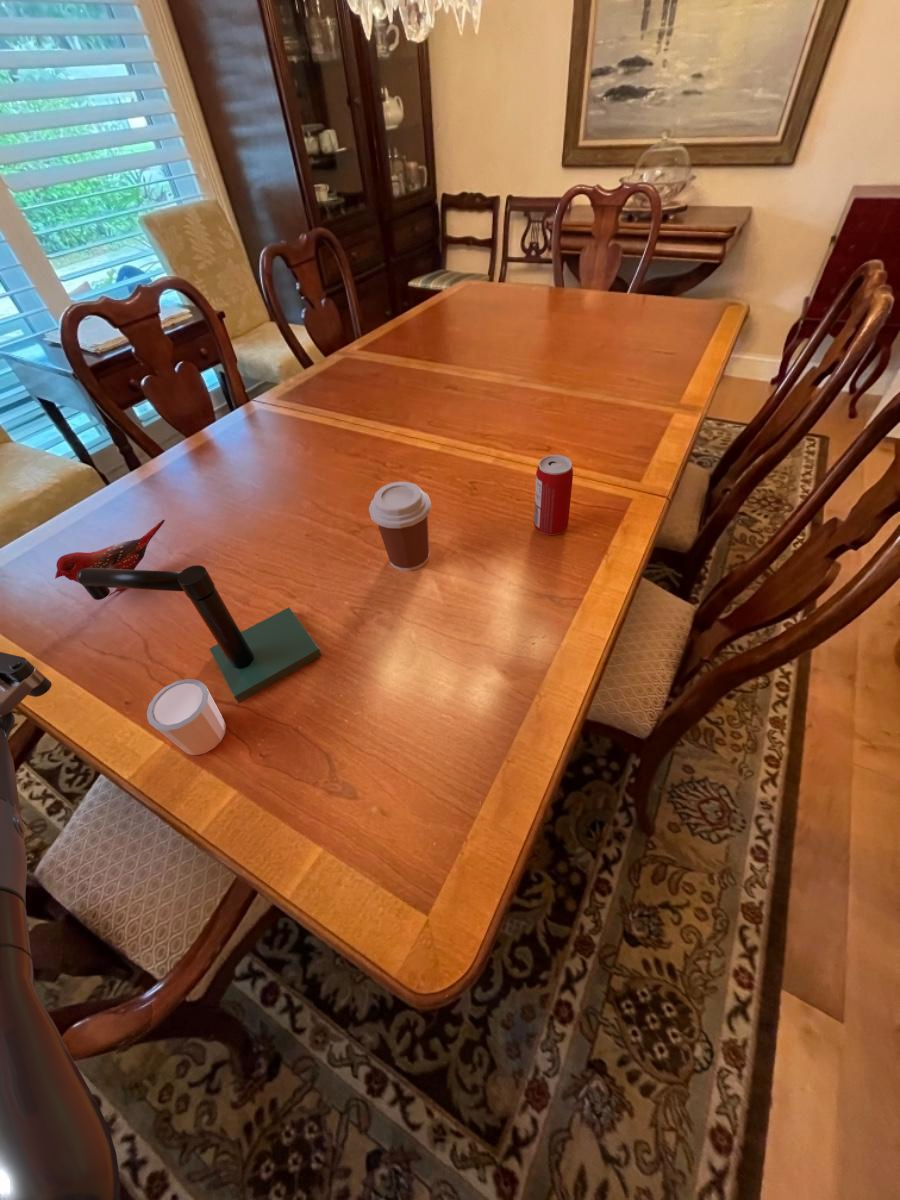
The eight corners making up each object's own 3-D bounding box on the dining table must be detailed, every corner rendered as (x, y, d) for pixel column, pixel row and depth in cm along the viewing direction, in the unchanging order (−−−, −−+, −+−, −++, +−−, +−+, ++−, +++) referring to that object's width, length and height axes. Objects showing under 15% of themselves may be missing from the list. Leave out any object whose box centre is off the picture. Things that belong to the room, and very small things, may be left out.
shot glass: (162, 749, 65) (132, 719, 60) (199, 703, 69) (175, 671, 64) (206, 767, 62) (179, 737, 57) (242, 718, 67) (220, 687, 62)
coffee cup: (426, 581, 81) (416, 518, 72) (371, 571, 83) (355, 509, 75) (445, 543, 87) (438, 480, 78) (394, 535, 89) (381, 473, 81)
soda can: (574, 528, 87) (582, 464, 78) (547, 541, 85) (551, 477, 76) (554, 511, 90) (559, 448, 81) (527, 523, 89) (529, 459, 80)
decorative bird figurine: (81, 611, 83) (40, 563, 75) (176, 545, 92) (148, 497, 85) (91, 618, 81) (50, 570, 74) (186, 550, 91) (158, 502, 84)
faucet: (238, 703, 68) (189, 629, 58) (213, 654, 74) (164, 580, 64) (322, 655, 73) (290, 579, 62) (292, 613, 79) (258, 537, 68)
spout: (85, 603, 64) (65, 578, 61) (101, 584, 66) (82, 560, 63) (213, 610, 62) (198, 585, 59) (225, 590, 64) (211, 565, 61)
